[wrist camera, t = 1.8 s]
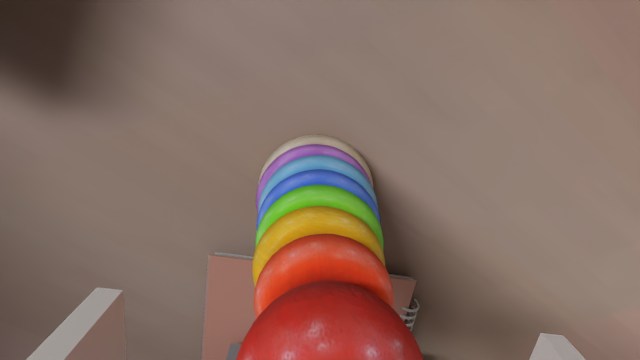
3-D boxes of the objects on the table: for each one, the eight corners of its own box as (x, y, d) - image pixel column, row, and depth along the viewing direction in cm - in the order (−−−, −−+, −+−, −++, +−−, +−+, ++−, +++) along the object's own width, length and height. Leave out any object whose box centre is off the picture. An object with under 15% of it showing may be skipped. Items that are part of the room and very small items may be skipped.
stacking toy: (382, 217, 26) (547, 568, 8) (282, 247, 26) (223, 637, 8) (353, 116, 23) (499, 296, 5) (243, 152, 24) (42, 423, 6)
